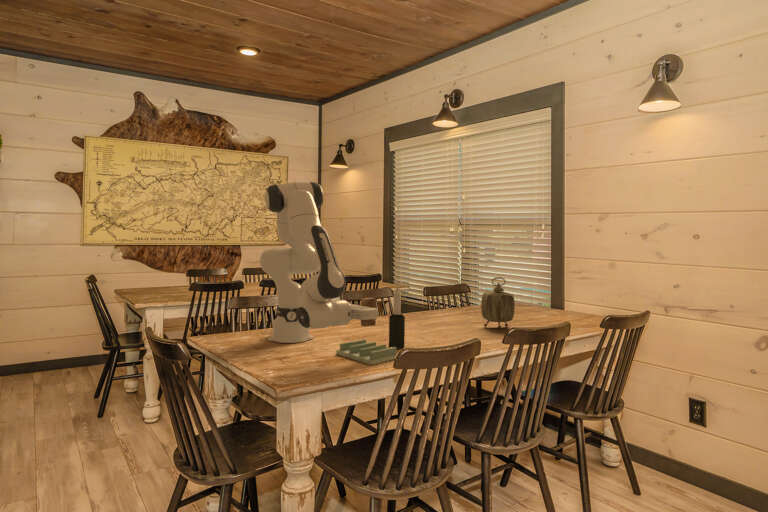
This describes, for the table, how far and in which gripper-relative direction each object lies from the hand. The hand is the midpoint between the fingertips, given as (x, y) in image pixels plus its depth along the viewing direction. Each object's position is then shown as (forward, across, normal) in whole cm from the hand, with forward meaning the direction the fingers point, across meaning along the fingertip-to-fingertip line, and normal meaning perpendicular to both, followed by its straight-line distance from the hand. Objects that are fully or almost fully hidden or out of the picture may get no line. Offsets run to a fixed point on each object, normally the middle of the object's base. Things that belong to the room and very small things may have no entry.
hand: (370, 309), depth 179 cm
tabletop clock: (+84, +1, +18) cm, 86 cm away
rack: (-1, 0, +18) cm, 18 cm away
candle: (+17, +4, +18) cm, 25 cm away
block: (-1, 0, +6) cm, 6 cm away
